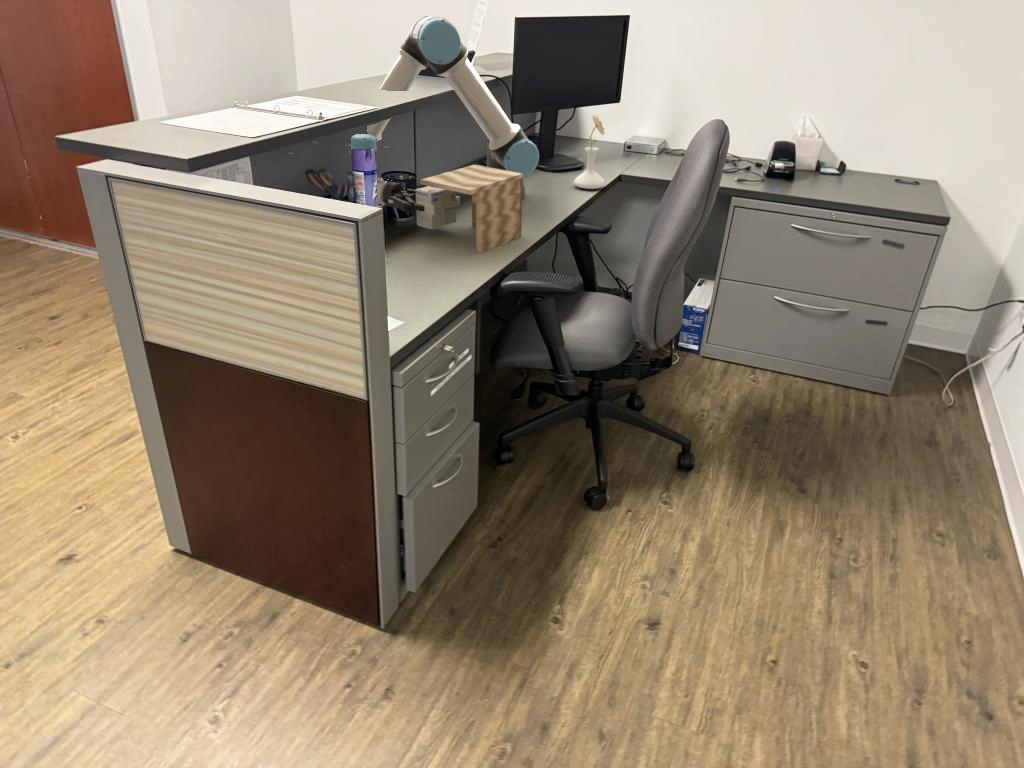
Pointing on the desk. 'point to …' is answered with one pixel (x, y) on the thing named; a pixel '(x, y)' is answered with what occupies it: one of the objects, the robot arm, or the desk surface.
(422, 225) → the light bulb box
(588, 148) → the flower in vase
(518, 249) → the desk surface
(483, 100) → the robot arm
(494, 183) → the wooden monitor riser
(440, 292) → the desk surface
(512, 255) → the desk surface
